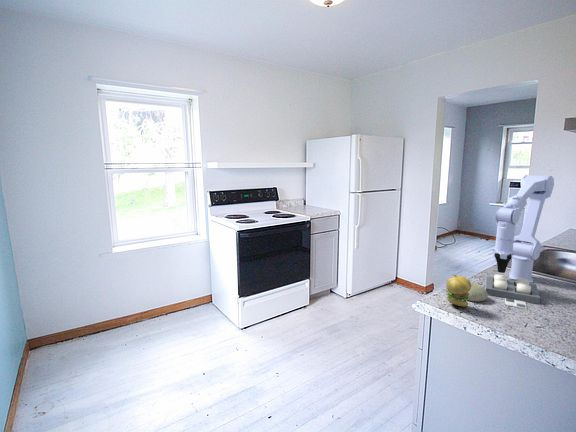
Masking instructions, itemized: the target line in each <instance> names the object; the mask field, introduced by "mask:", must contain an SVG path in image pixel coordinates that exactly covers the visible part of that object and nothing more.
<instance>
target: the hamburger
mask: <svg viewBox="0 0 576 432" xmlns="http://www.w3.org/2000/svg"><path fill="white" fill-rule="evenodd" d="M471 284H472V282H471V281H470V280H469V279H468V278H467V277H466V276H462V275H461V276H460V275H457V274H452V277H450V278H448V280H447V281H446V292H447V293H446V300H447V301H448V302H449V303H450V304H452V305H454V306H458V307H461V308H466V307H468V306H469V302H467V301H469V300H468V299H469V298H468V295H469V293H468V291H470V289H471Z"/></svg>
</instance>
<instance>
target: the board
mask: <svg viewBox="0 0 576 432" xmlns="http://www.w3.org/2000/svg"><path fill="white" fill-rule="evenodd" d="M507 282H508V285H507V291H506V290H501V289H495V288H494V276H487V277H486V283H485V290H486V291H487V294H488V296H492V297H496V298H497V297H498V298H503V299H505V298H507V299H512V300H518V301H523V302H526V303H529V304H530V303H531V304H537V305H540V304H541V303H540V302H541V297H540V293H539V289H538V287H537V284H536V283H531V282H529V285H530V286H531V293H530V295H529V294H523V293H518V292H516V288H517V286H515V283H516V280H512V279H507Z"/></svg>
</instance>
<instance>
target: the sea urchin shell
mask: <svg viewBox="0 0 576 432" xmlns="http://www.w3.org/2000/svg"><path fill="white" fill-rule="evenodd" d="M468 293H469V295H468V298H469V299H468V300H467V301H470V302H473V303H474V302H476V303H477V302H484V301H487V300H488V297H489V295H488V294H487V291H486V288H484V287H482V286H481V285H479V284H475V283H471V289H470V291H468Z"/></svg>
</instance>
